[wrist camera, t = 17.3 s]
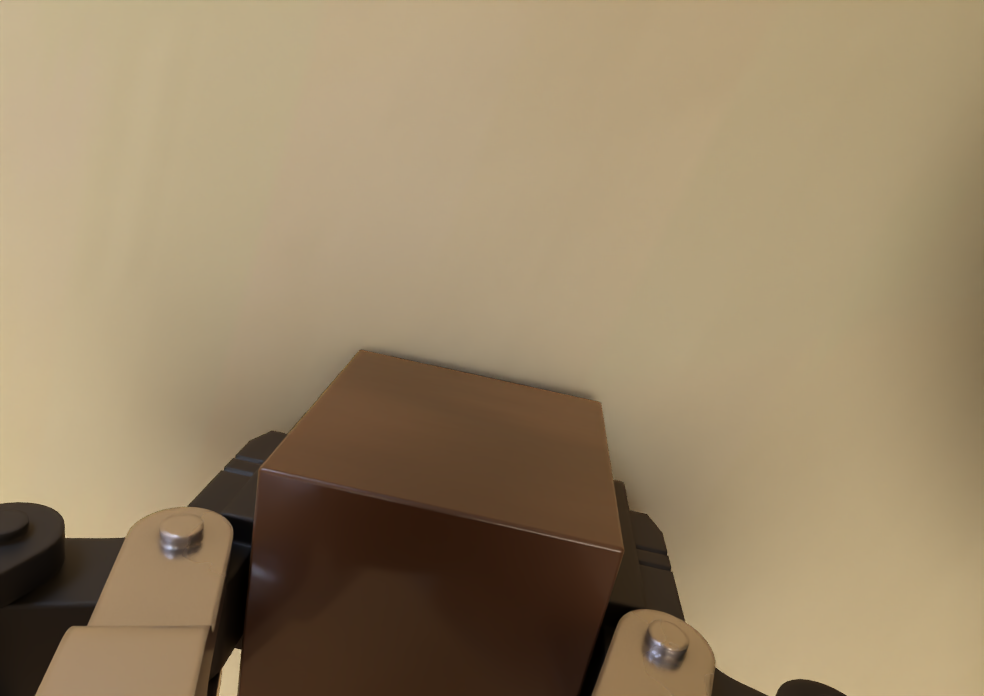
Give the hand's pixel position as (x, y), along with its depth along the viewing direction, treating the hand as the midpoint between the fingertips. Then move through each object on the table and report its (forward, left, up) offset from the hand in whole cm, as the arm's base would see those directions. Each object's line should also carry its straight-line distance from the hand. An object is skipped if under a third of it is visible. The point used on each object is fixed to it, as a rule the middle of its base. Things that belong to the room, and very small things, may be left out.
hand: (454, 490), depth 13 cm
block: (0, 0, 0) cm, 0 cm away
